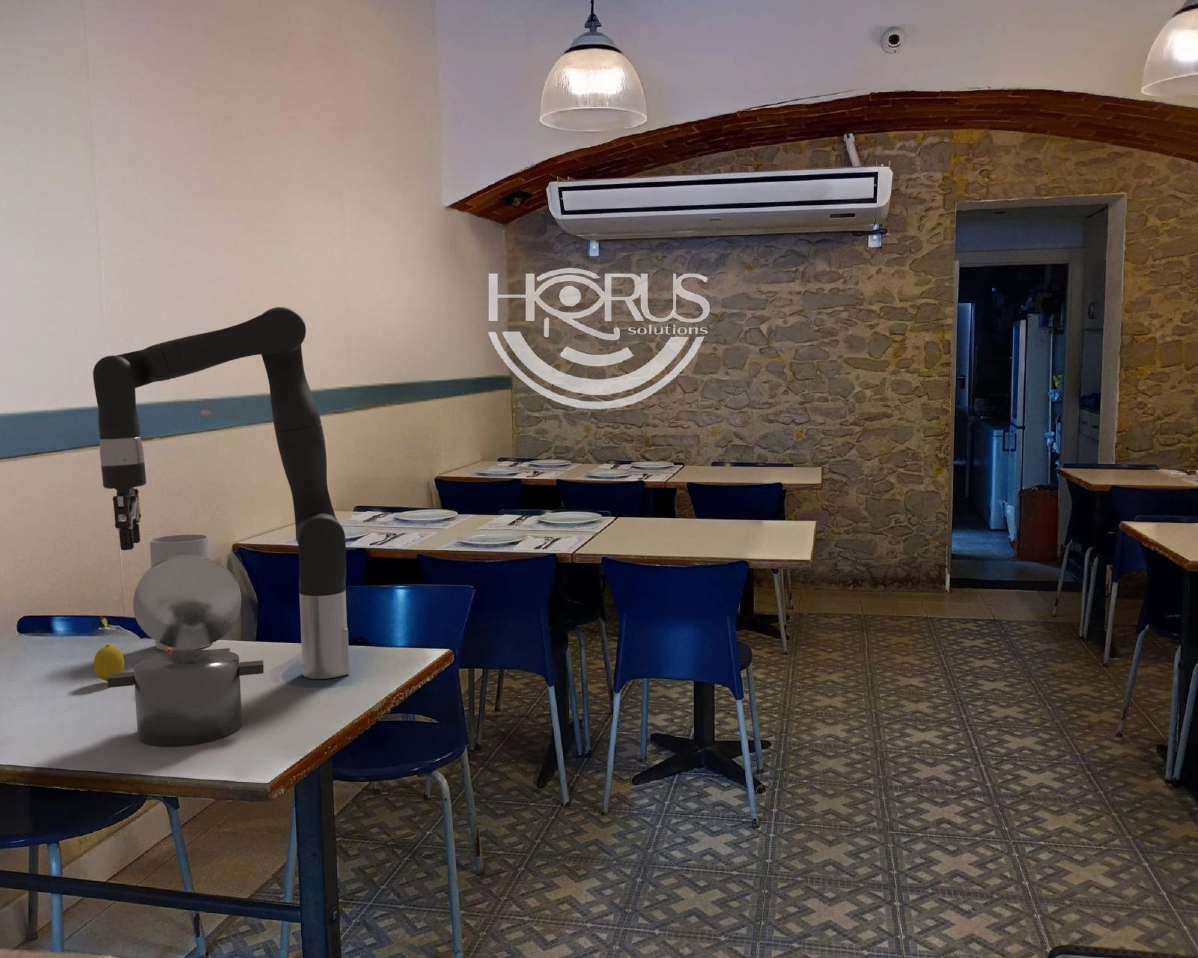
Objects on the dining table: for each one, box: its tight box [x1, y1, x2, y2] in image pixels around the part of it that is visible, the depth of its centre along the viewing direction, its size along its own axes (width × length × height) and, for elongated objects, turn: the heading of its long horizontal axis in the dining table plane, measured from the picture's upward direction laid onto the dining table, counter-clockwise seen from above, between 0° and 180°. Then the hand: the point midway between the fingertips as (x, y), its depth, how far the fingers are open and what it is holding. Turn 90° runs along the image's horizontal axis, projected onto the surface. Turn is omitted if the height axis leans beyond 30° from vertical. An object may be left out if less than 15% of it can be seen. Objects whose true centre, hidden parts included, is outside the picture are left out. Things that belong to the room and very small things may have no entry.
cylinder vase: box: [149, 533, 212, 653], centre depth 238 cm, size 12×12×25 cm
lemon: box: [93, 643, 125, 683], centre depth 209 cm, size 6×6×8 cm
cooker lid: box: [132, 555, 242, 649], centre depth 187 cm, size 18×18×4 cm
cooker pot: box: [107, 647, 265, 748], centre depth 181 cm, size 25×18×12 cm
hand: (130, 546), depth 197 cm, fingers open, 8 cm apart
